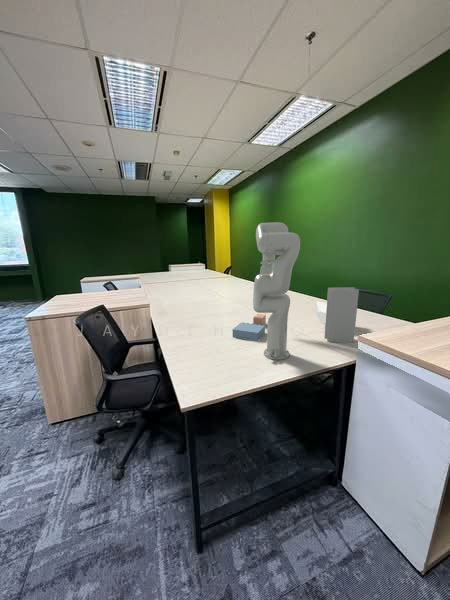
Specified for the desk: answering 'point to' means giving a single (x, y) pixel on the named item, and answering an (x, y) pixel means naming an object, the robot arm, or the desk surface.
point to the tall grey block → (341, 314)
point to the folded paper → (321, 311)
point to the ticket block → (249, 331)
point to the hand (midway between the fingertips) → (268, 291)
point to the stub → (259, 319)
